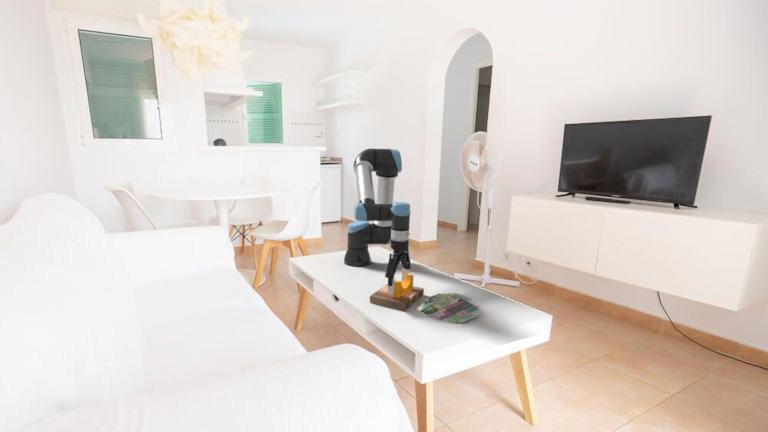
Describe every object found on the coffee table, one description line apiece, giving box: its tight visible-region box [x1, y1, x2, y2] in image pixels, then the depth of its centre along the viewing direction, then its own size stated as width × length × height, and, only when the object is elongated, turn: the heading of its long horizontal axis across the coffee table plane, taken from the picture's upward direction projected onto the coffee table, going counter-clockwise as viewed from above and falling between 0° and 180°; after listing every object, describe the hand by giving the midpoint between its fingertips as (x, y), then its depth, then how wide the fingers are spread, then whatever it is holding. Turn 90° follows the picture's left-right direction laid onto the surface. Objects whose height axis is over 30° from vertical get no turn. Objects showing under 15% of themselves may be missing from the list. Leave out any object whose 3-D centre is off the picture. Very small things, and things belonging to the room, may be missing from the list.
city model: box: [421, 292, 481, 325], centre depth 149 cm, size 25×23×6 cm
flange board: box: [369, 283, 425, 312], centre depth 160 cm, size 20×16×3 cm
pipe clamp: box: [393, 273, 414, 298], centre depth 158 cm, size 12×4×6 cm, turn 146°
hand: (397, 287), depth 159 cm, fingers open, 13 cm apart
